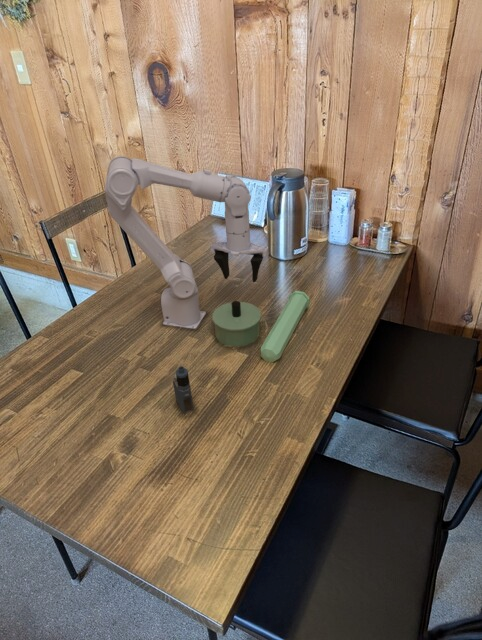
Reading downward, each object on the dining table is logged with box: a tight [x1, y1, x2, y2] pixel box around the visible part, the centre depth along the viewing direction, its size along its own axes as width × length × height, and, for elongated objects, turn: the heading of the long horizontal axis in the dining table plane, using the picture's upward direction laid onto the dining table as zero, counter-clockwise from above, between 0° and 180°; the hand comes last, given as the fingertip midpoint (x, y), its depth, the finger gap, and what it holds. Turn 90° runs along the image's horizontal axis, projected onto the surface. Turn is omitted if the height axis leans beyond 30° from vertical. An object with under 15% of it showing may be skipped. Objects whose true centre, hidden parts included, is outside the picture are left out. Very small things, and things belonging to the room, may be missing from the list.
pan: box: [213, 320, 261, 347], centre depth 112 cm, size 11×11×6 cm
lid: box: [211, 300, 262, 331], centre depth 109 cm, size 12×12×4 cm
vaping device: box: [172, 365, 195, 415], centre depth 90 cm, size 3×5×12 cm, turn 28°
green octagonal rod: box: [260, 290, 311, 363], centre depth 111 cm, size 6×6×25 cm
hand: (240, 278), depth 116 cm, fingers open, 7 cm apart
